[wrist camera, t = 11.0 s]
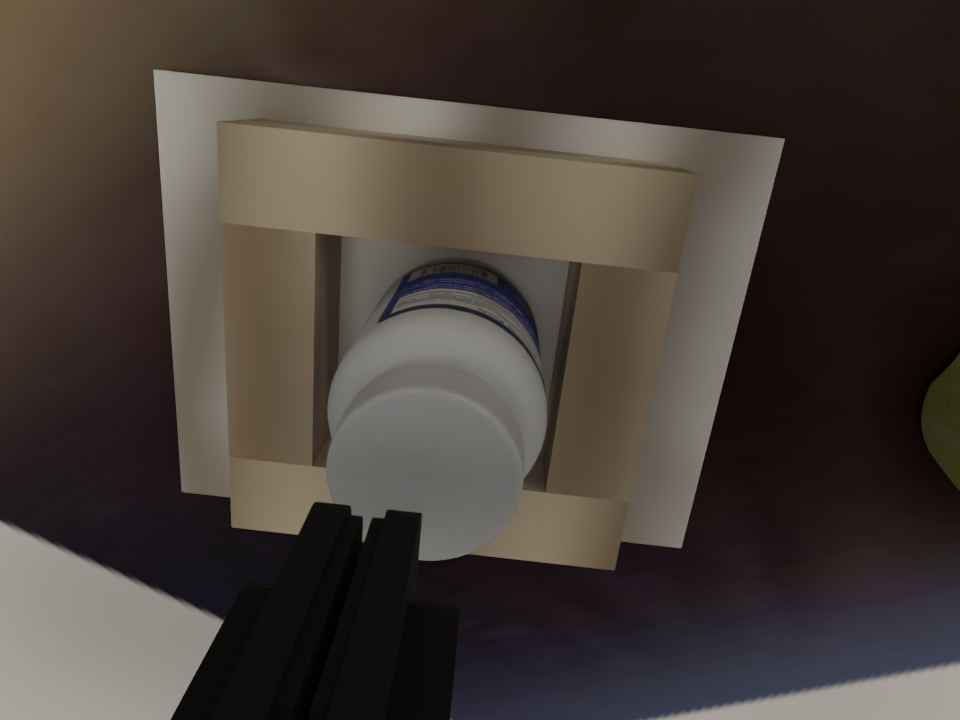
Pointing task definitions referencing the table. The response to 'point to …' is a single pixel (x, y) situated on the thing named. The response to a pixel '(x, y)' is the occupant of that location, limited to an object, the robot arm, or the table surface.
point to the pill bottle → (440, 406)
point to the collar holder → (454, 235)
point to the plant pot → (944, 421)
